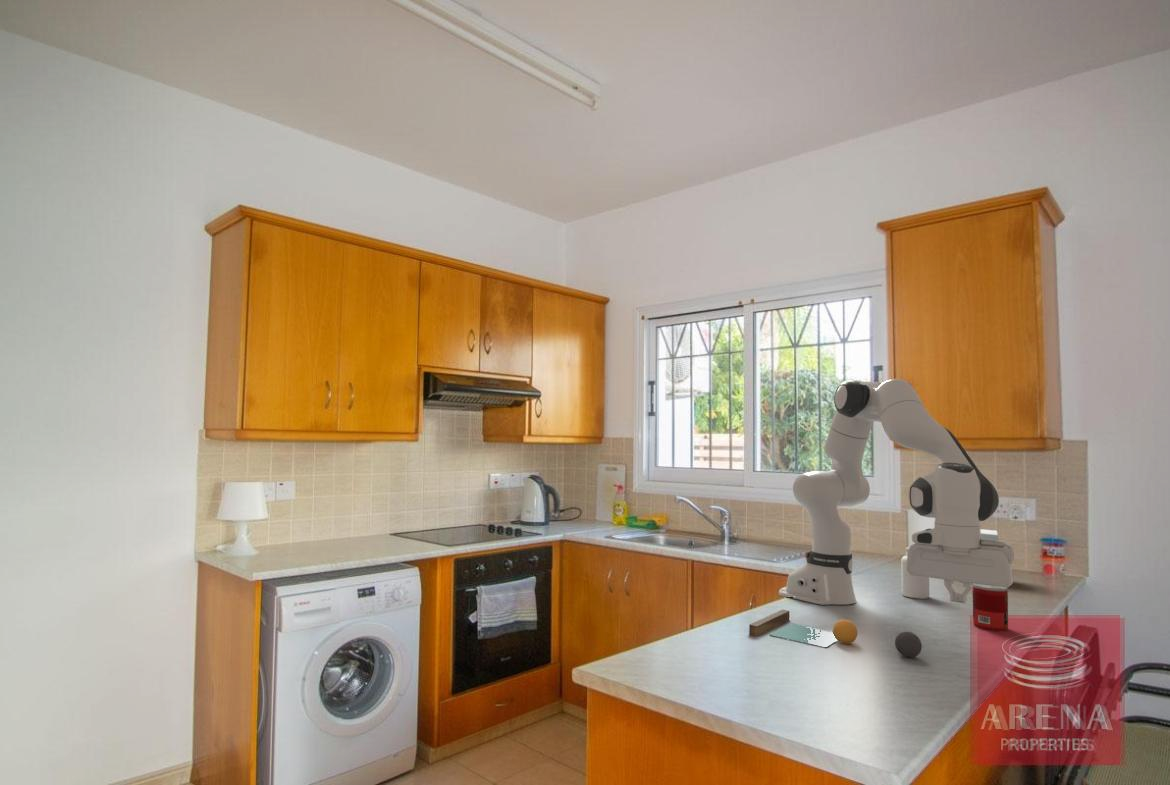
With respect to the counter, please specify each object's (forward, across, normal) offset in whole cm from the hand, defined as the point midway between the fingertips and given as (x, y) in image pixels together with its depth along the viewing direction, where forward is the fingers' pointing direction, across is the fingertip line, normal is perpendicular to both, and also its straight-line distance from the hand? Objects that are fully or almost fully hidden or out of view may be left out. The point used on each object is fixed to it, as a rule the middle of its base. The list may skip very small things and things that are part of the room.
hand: (958, 601), depth 145 cm
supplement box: (+14, +14, -110) cm, 112 cm away
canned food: (+14, 0, -42) cm, 44 cm away
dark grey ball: (+11, +10, 0) cm, 15 cm away
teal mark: (+14, +33, 0) cm, 36 cm away
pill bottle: (+14, +24, -66) cm, 72 cm away
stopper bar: (+14, +43, 0) cm, 46 cm away
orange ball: (+11, +24, 0) cm, 27 cm away
